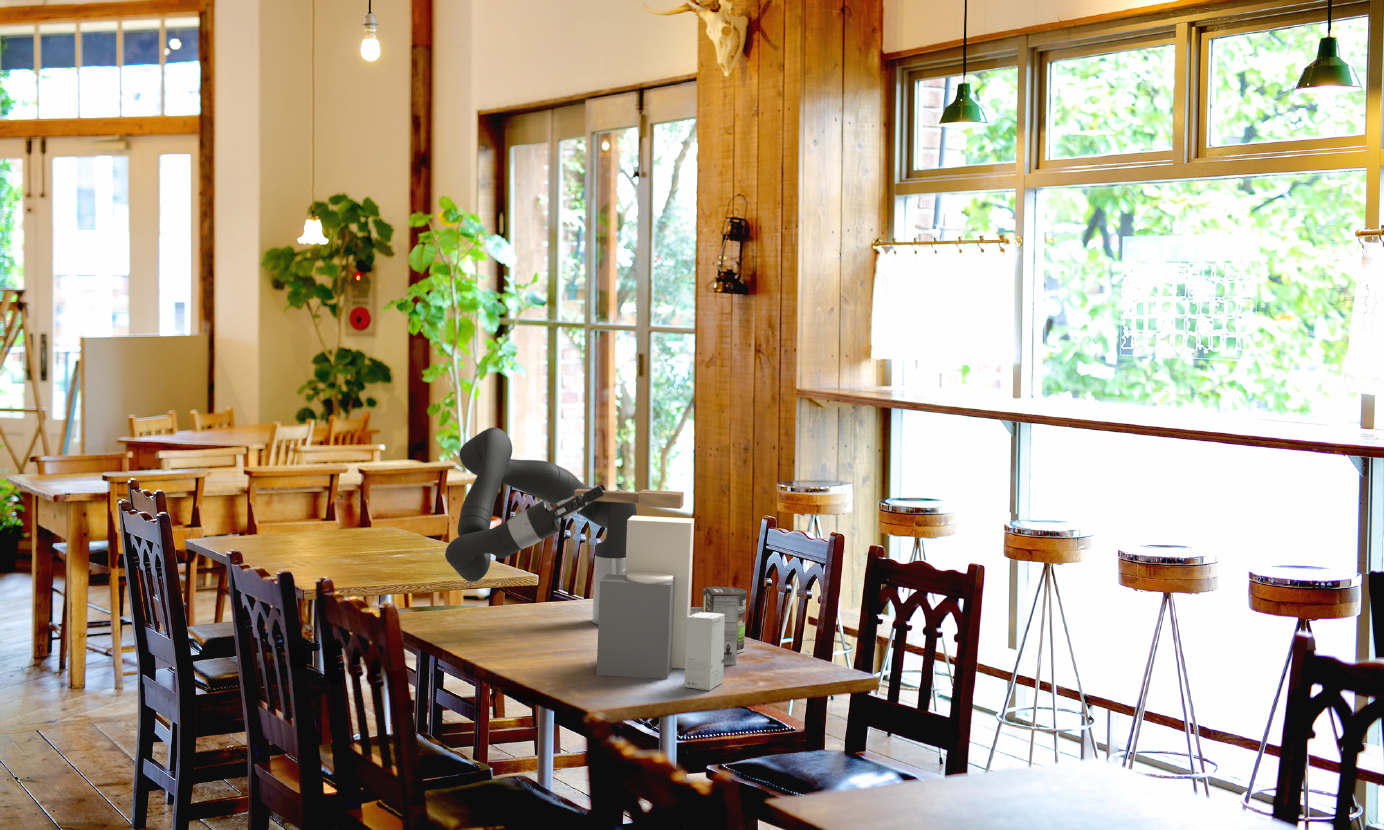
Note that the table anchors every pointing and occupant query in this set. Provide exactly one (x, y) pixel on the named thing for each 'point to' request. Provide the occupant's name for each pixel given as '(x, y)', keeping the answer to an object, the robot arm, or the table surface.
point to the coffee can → (741, 617)
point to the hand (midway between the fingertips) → (603, 489)
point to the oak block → (642, 497)
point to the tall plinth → (665, 565)
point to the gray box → (636, 625)
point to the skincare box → (704, 650)
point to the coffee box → (728, 604)
